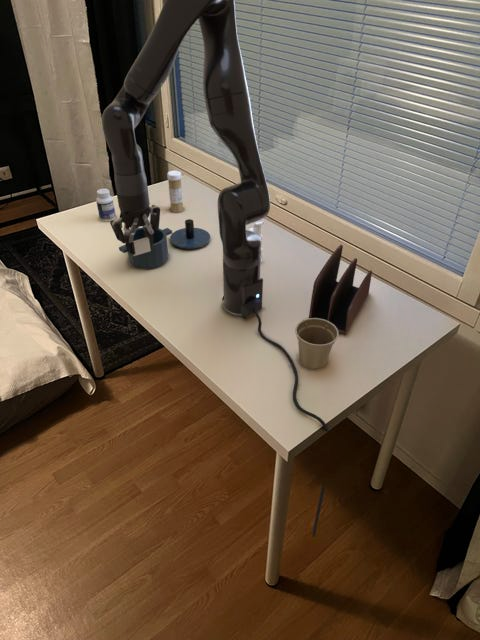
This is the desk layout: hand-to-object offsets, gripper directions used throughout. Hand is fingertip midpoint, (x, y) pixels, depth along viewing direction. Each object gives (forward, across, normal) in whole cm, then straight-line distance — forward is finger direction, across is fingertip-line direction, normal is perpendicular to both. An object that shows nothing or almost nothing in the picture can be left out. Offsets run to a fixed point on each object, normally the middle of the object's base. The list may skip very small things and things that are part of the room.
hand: (140, 249), depth 130 cm
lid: (+10, -24, -10) cm, 28 cm away
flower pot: (+12, -10, +52) cm, 54 cm away
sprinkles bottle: (+11, -35, -30) cm, 47 cm away
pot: (+11, -8, -10) cm, 17 cm away
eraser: (+1, 0, 0) cm, 1 cm away
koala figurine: (+11, -30, +12) cm, 34 cm away
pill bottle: (+10, -14, -41) cm, 45 cm away
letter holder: (+12, -30, +44) cm, 54 cm away
